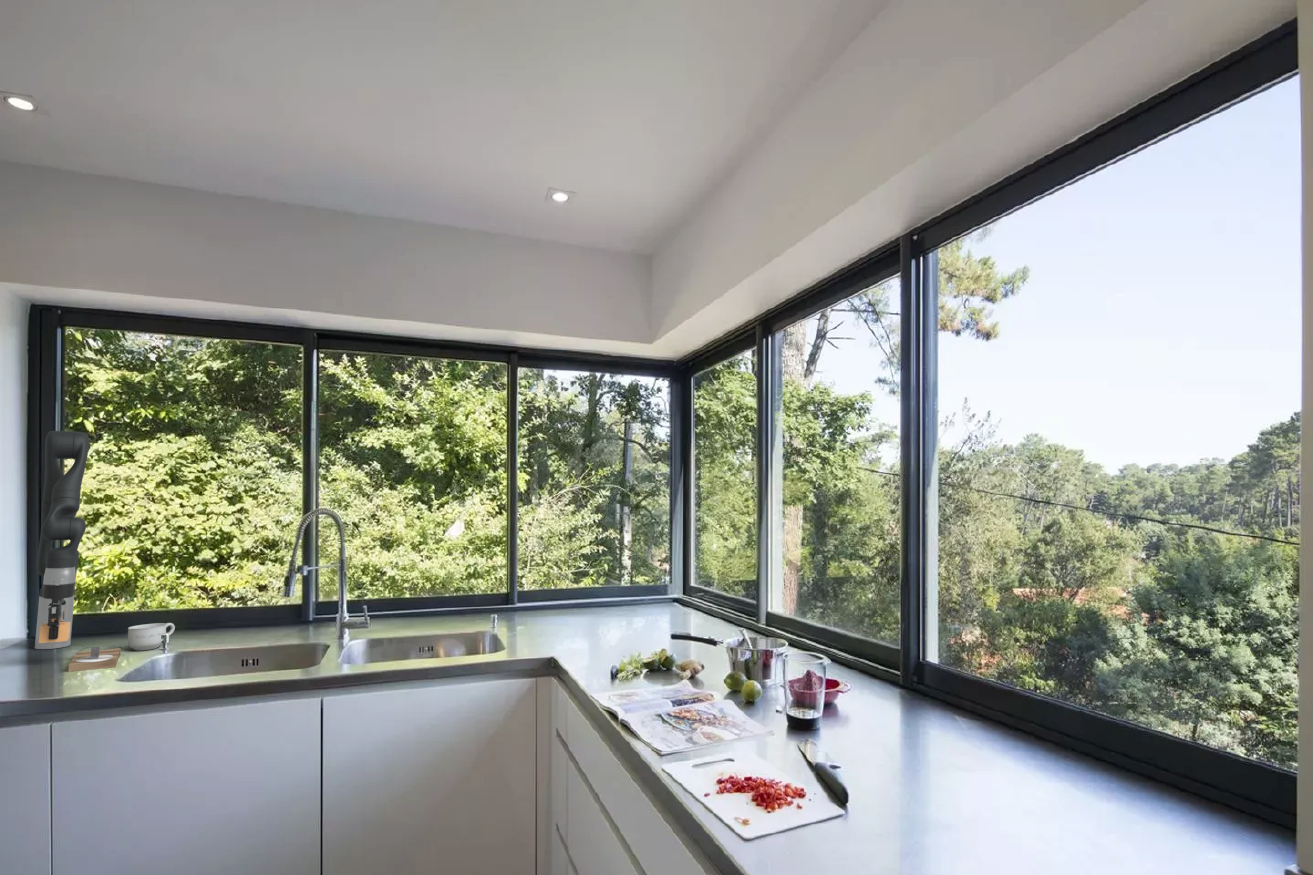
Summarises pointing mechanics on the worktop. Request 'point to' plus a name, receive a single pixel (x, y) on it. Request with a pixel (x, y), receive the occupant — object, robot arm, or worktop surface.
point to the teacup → (147, 635)
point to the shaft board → (95, 659)
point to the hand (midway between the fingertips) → (54, 637)
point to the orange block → (62, 634)
